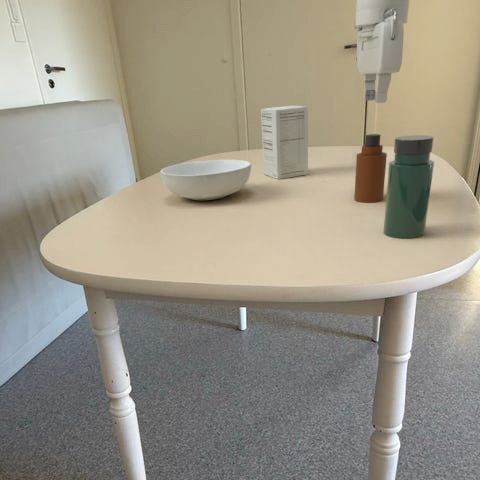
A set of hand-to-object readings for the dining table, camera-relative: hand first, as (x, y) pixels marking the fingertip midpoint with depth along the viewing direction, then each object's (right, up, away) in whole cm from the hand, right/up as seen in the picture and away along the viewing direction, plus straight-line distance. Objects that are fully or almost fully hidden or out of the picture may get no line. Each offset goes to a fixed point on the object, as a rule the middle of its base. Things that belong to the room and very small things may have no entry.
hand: (374, 101), depth 84 cm
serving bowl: (-33, -12, +21) cm, 41 cm away
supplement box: (-13, -2, +38) cm, 40 cm away
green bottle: (+1, -27, -12) cm, 29 cm away
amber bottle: (+1, -16, +9) cm, 18 cm away
